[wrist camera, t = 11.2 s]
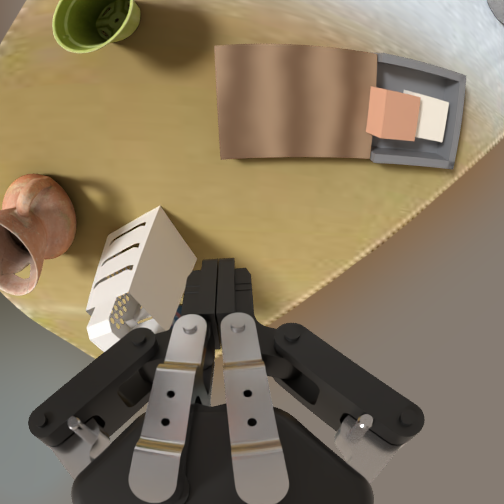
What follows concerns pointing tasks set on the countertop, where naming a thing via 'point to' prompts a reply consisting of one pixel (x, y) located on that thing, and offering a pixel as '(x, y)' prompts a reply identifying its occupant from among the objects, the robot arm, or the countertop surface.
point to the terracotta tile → (392, 114)
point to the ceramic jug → (33, 229)
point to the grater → (139, 279)
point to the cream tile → (431, 117)
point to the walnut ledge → (293, 101)
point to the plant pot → (93, 23)
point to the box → (430, 84)
